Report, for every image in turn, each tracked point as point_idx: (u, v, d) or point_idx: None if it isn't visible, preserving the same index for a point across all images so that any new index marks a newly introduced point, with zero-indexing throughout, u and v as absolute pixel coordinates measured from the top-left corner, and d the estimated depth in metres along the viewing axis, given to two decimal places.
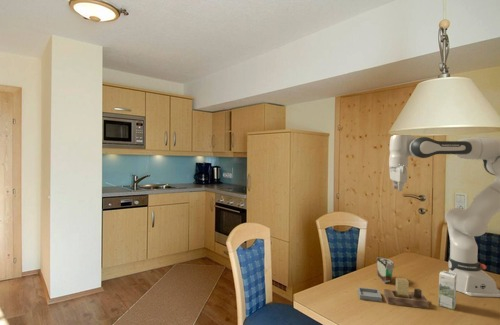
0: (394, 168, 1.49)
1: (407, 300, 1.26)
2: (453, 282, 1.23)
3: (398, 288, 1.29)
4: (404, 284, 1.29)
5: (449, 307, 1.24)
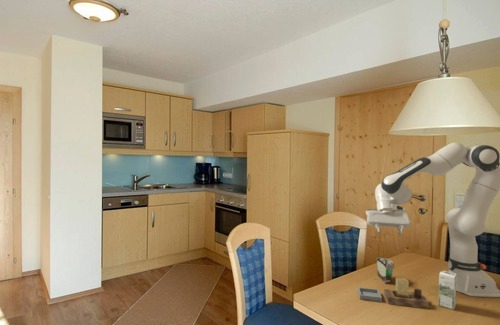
0: None
1: (407, 300, 1.26)
2: (453, 282, 1.23)
3: (398, 288, 1.29)
4: (404, 284, 1.29)
5: (449, 307, 1.24)
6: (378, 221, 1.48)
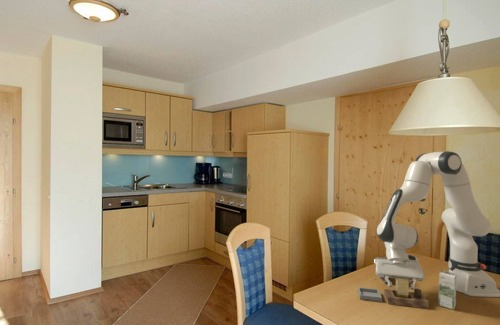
0: None
1: (407, 300, 1.26)
2: (453, 282, 1.23)
3: (398, 288, 1.29)
4: (404, 284, 1.29)
5: (449, 307, 1.24)
6: (388, 273, 1.34)
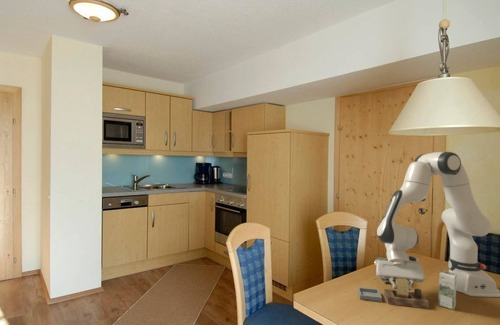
0: None
1: (407, 300, 1.26)
2: (453, 282, 1.23)
3: (398, 288, 1.29)
4: (404, 284, 1.29)
5: (449, 307, 1.24)
6: (389, 274, 1.33)
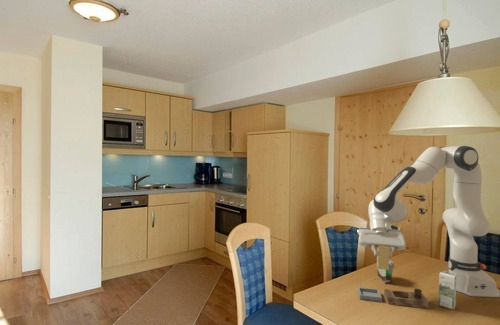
0: None
1: (407, 300, 1.26)
2: (453, 282, 1.23)
3: (379, 254, 1.31)
4: (385, 250, 1.30)
5: (449, 307, 1.24)
6: (371, 242, 1.35)
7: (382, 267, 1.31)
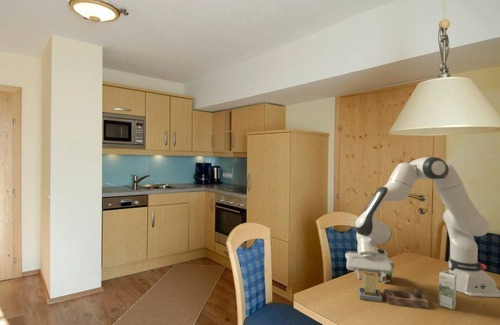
0: None
1: (407, 300, 1.26)
2: (453, 282, 1.23)
3: (366, 282, 1.33)
4: (372, 279, 1.33)
5: (449, 307, 1.24)
6: (358, 266, 1.38)
7: (369, 295, 1.33)
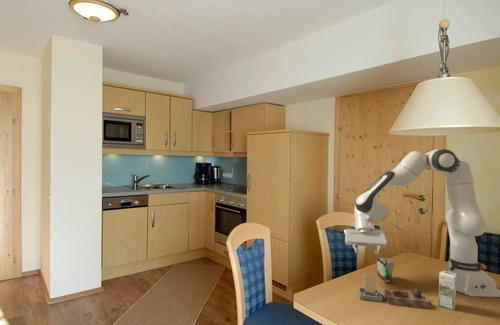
0: None
1: (407, 300, 1.26)
2: (453, 282, 1.23)
3: (366, 282, 1.33)
4: (372, 279, 1.33)
5: (449, 307, 1.24)
6: (355, 241, 1.48)
7: (369, 295, 1.33)
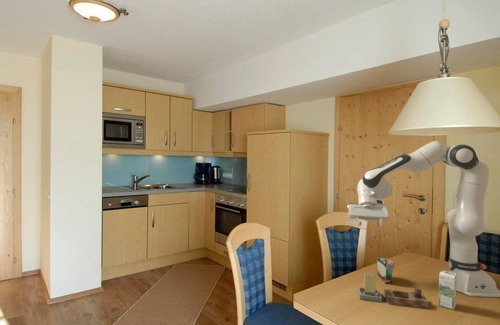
0: None
1: (407, 300, 1.26)
2: (453, 282, 1.23)
3: (366, 282, 1.33)
4: (372, 279, 1.33)
5: (449, 307, 1.24)
6: (358, 214, 1.53)
7: (369, 295, 1.33)
